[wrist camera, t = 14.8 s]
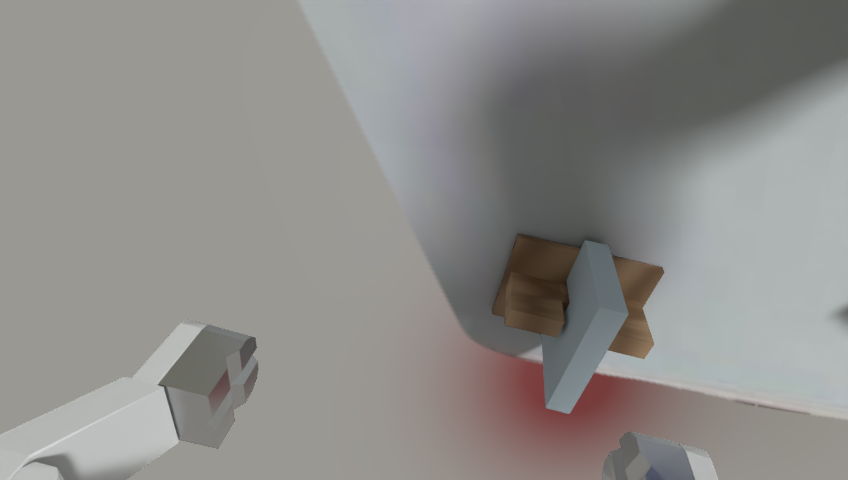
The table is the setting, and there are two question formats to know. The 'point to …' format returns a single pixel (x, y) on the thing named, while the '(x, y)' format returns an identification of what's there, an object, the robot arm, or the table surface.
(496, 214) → the table surface
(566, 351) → the slotted plate
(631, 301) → the jig
